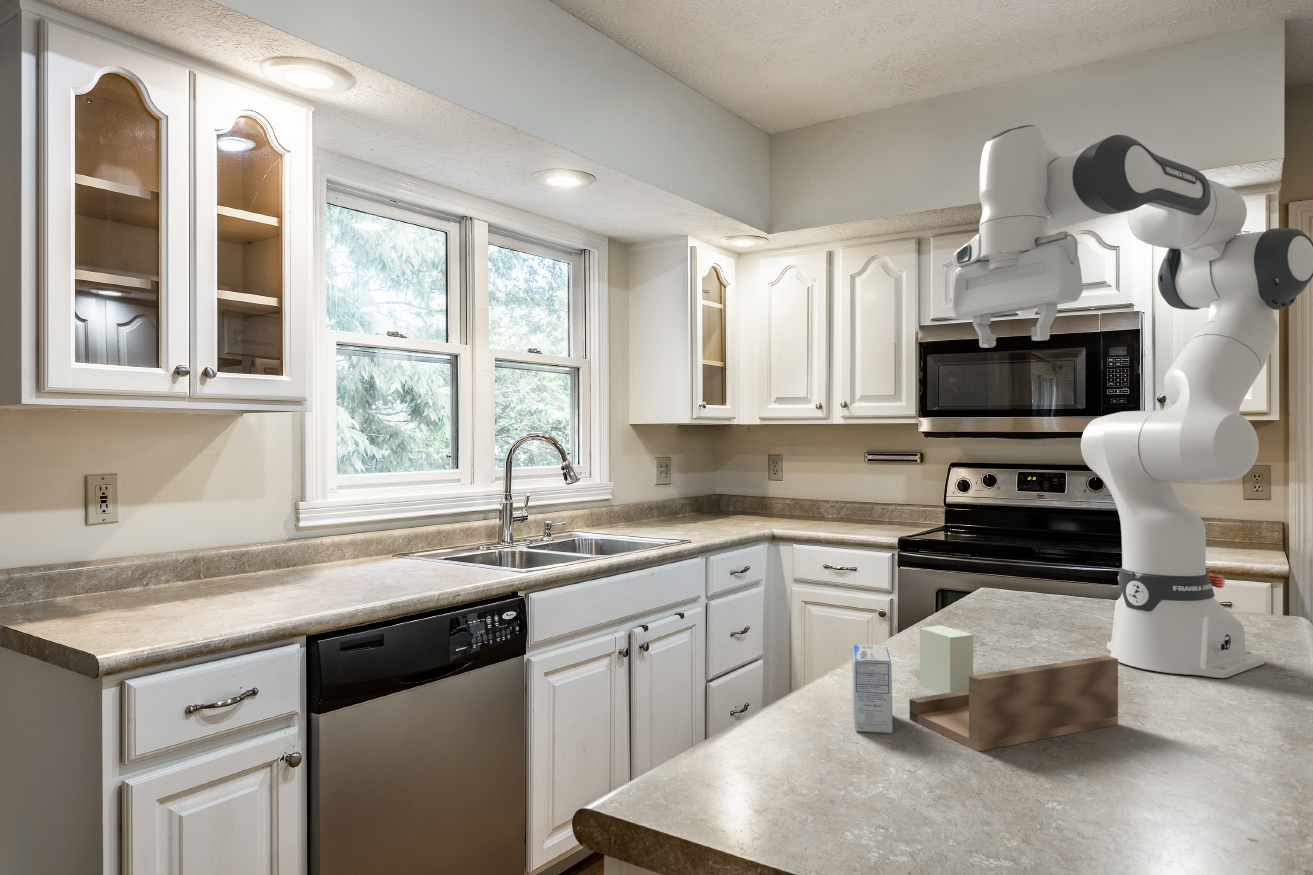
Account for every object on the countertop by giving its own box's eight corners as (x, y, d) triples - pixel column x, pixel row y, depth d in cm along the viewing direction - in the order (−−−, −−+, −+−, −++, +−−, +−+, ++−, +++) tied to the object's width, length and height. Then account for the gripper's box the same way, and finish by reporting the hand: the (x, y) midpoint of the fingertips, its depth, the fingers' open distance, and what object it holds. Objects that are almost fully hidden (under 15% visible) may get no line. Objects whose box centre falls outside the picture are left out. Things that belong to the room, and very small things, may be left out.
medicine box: (892, 735, 98) (892, 661, 98) (853, 732, 99) (853, 659, 99) (887, 713, 105) (887, 644, 105) (851, 710, 106) (851, 643, 106)
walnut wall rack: (1040, 696, 112) (1040, 637, 112) (1118, 724, 101) (1118, 658, 101) (909, 718, 103) (909, 654, 103) (978, 751, 92) (978, 679, 92)
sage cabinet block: (942, 681, 119) (942, 625, 119) (973, 693, 113) (973, 634, 113) (919, 684, 117) (919, 627, 117) (950, 696, 112) (950, 637, 112)
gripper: (1094, 230, 108) (1094, 336, 108) (976, 260, 127) (976, 351, 127) (1058, 225, 105) (1058, 334, 105) (944, 257, 124) (944, 349, 124)
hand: (1013, 343), depth 116 cm, fingers open, 8 cm apart
